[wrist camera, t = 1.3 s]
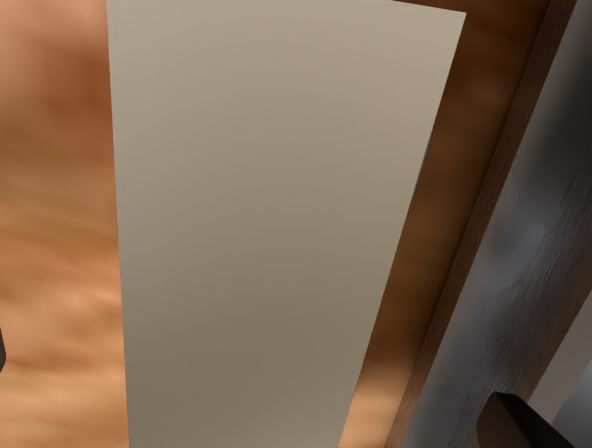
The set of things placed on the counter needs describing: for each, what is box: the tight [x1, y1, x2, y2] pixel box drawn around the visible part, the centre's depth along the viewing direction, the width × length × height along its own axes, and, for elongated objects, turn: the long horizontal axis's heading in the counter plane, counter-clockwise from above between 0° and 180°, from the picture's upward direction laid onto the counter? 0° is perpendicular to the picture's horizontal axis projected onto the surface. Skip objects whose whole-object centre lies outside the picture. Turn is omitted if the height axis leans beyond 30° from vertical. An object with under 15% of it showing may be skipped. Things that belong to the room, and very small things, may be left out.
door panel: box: [106, 0, 466, 448], centre depth 9 cm, size 12×3×7 cm, turn 171°
